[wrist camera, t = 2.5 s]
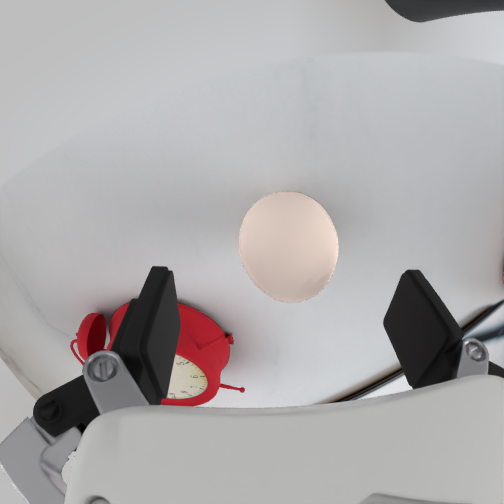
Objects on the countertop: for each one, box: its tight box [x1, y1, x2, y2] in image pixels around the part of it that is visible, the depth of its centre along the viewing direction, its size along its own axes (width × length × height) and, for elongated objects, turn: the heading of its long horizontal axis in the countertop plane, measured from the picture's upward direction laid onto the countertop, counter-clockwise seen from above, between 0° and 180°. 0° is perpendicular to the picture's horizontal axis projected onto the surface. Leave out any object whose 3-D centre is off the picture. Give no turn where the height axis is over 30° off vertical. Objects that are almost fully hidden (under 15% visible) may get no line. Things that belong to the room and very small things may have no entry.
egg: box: [239, 191, 339, 303], centre depth 14 cm, size 5×5×7 cm
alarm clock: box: [70, 302, 245, 406], centre depth 21 cm, size 10×6×15 cm
